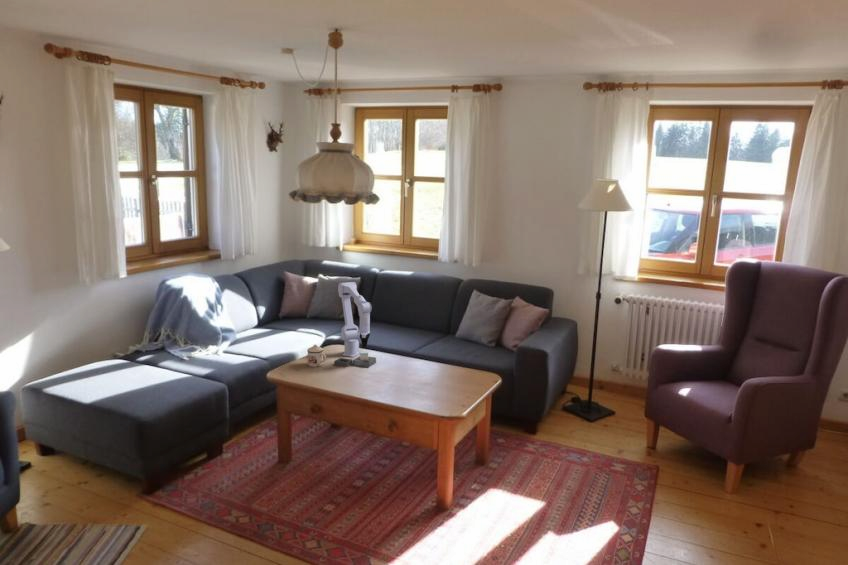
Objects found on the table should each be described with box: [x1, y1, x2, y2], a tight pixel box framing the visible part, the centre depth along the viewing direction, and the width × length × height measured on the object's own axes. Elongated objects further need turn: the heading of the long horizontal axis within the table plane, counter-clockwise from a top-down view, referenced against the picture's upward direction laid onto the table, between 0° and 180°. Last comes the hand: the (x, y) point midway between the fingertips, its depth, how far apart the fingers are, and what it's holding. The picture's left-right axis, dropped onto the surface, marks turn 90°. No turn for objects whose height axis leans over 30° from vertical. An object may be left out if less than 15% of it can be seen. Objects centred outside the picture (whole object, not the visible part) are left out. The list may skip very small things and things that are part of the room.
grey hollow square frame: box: [333, 357, 354, 368], centre depth 354 cm, size 7×8×2 cm
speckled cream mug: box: [307, 344, 327, 368], centre depth 351 cm, size 12×9×12 cm
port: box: [352, 355, 377, 369], centre depth 356 cm, size 10×10×3 cm
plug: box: [359, 351, 369, 361], centre depth 356 cm, size 3×4×7 cm, turn 91°
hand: (364, 346), depth 354 cm, fingers closed
